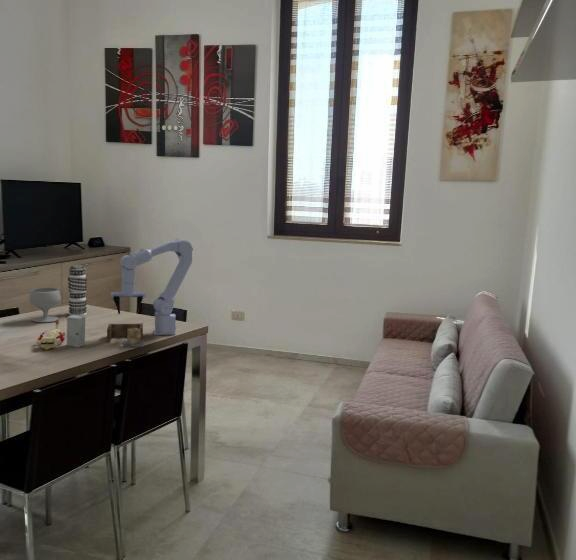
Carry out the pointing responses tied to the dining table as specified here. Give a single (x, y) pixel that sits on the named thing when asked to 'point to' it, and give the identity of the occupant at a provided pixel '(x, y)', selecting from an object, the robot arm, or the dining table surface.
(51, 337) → the cat figure
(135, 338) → the oak block
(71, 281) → the decorative candle
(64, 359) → the dining table surface
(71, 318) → the skincare box
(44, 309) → the chalice
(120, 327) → the brown wooden arch
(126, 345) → the mat
